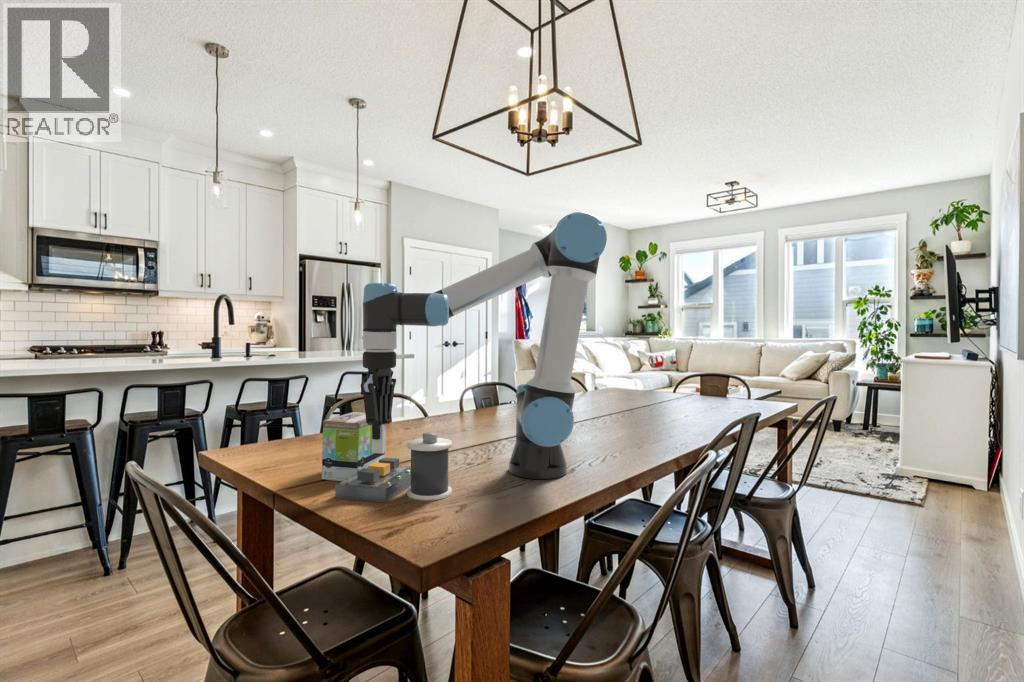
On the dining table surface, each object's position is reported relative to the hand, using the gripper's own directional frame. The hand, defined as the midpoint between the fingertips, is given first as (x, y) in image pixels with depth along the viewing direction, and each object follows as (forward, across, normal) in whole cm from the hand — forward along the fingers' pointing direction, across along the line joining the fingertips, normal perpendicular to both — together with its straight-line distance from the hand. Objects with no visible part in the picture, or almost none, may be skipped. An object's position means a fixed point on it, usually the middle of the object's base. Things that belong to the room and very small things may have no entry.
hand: (378, 452), depth 120 cm
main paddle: (+4, 0, 0) cm, 4 cm away
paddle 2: (+4, -5, 0) cm, 6 cm away
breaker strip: (+9, 0, 0) cm, 9 cm away
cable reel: (+8, 0, +13) cm, 15 cm away
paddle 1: (+4, +5, 0) cm, 6 cm away
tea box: (+9, -10, -12) cm, 18 cm away
